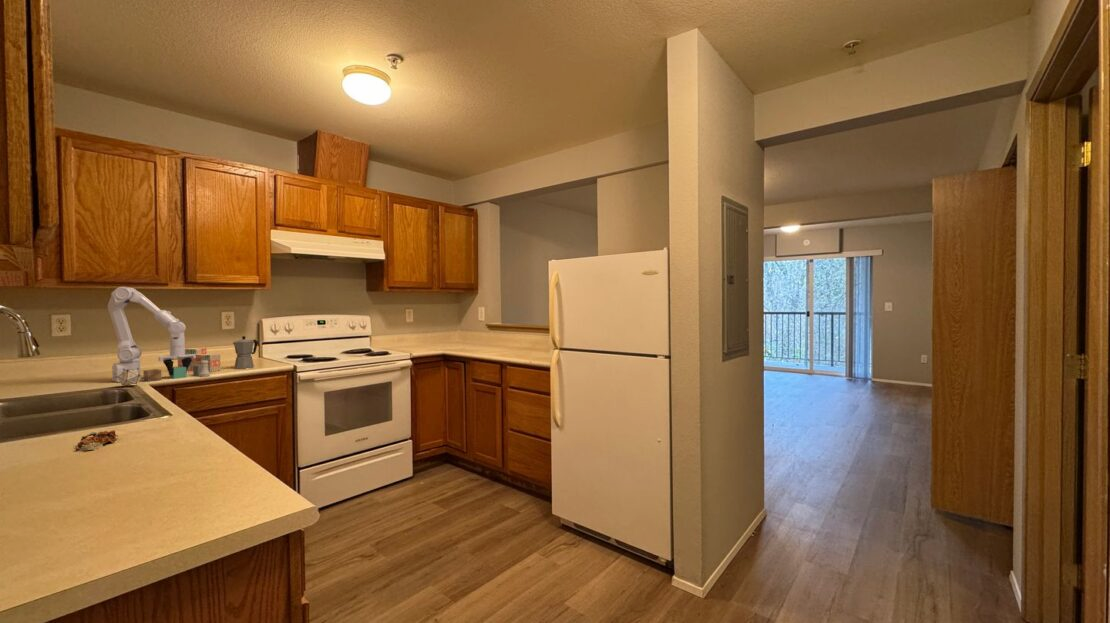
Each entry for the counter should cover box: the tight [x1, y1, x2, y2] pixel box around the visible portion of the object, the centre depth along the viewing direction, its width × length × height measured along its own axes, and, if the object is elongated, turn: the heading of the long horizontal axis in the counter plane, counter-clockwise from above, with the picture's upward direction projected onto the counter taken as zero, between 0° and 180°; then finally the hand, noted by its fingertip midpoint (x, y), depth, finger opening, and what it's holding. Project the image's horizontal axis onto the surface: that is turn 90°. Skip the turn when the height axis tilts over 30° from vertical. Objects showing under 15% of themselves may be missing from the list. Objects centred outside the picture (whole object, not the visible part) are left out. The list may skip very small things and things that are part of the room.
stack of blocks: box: [177, 347, 221, 373], centre depth 252 cm, size 21×6×12 cm, turn 78°
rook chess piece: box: [199, 360, 211, 378], centre depth 232 cm, size 4×4×8 cm
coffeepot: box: [232, 335, 259, 370], centre depth 263 cm, size 15×9×18 cm, turn 165°
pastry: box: [75, 430, 119, 453], centre depth 118 cm, size 7×12×4 cm, turn 37°
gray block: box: [192, 365, 211, 377], centre depth 238 cm, size 5×5×5 cm
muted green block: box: [169, 366, 187, 380], centre depth 229 cm, size 5×5×5 cm
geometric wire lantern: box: [116, 368, 144, 386], centre depth 204 cm, size 9×8×10 cm
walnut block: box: [142, 368, 162, 383], centre depth 220 cm, size 5×5×5 cm
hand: (177, 374), depth 229 cm, fingers closed on muted green block, 5 cm apart
